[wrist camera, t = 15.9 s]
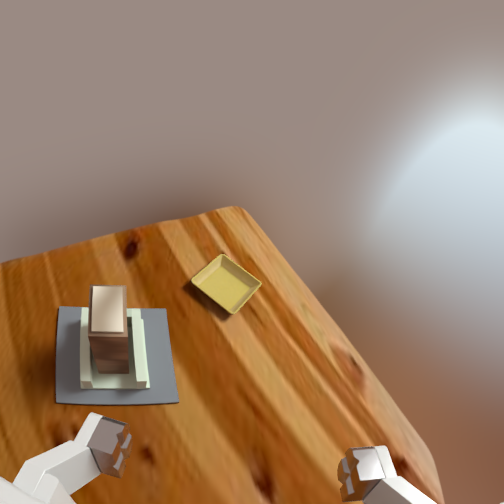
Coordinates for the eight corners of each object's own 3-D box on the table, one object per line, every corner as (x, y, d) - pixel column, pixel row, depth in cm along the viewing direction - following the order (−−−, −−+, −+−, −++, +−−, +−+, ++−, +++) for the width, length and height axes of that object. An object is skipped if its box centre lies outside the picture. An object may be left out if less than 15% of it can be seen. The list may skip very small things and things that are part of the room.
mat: (165, 310, 44) (165, 308, 44) (178, 402, 35) (179, 401, 35) (59, 307, 37) (59, 306, 37) (56, 403, 29) (56, 402, 29)
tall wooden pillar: (126, 332, 38) (126, 283, 31) (129, 373, 35) (127, 335, 27) (97, 331, 37) (89, 282, 29) (98, 373, 33) (87, 334, 25)
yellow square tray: (230, 322, 47) (234, 315, 45) (187, 287, 48) (189, 279, 47) (258, 290, 53) (263, 283, 52) (219, 260, 54) (222, 252, 53)
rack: (143, 320, 41) (144, 308, 39) (149, 388, 35) (151, 381, 33) (81, 319, 37) (78, 307, 35) (81, 388, 31) (76, 380, 29)
